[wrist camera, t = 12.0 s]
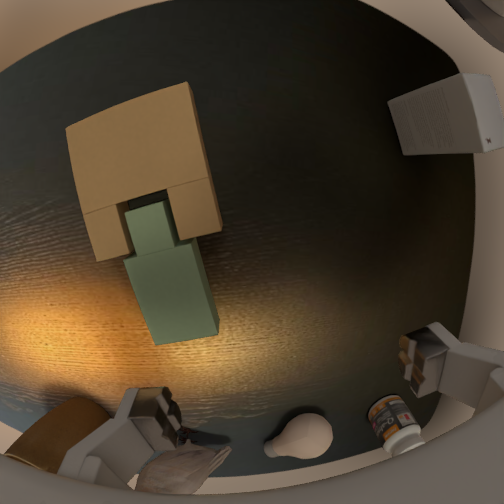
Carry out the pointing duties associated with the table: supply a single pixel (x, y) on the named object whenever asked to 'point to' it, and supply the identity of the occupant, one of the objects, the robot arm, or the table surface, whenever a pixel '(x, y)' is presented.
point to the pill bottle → (395, 425)
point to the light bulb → (302, 438)
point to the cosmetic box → (450, 117)
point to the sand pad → (142, 167)
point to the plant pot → (57, 434)
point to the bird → (181, 468)
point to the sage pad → (169, 277)
